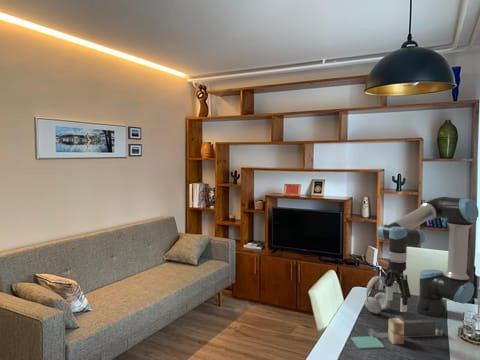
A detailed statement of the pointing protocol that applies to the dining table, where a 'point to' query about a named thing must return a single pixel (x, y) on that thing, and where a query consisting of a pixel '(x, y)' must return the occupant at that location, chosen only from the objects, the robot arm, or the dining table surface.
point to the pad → (367, 342)
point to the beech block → (396, 331)
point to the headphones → (376, 297)
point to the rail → (385, 335)
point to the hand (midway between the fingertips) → (396, 305)
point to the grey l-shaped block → (418, 326)
